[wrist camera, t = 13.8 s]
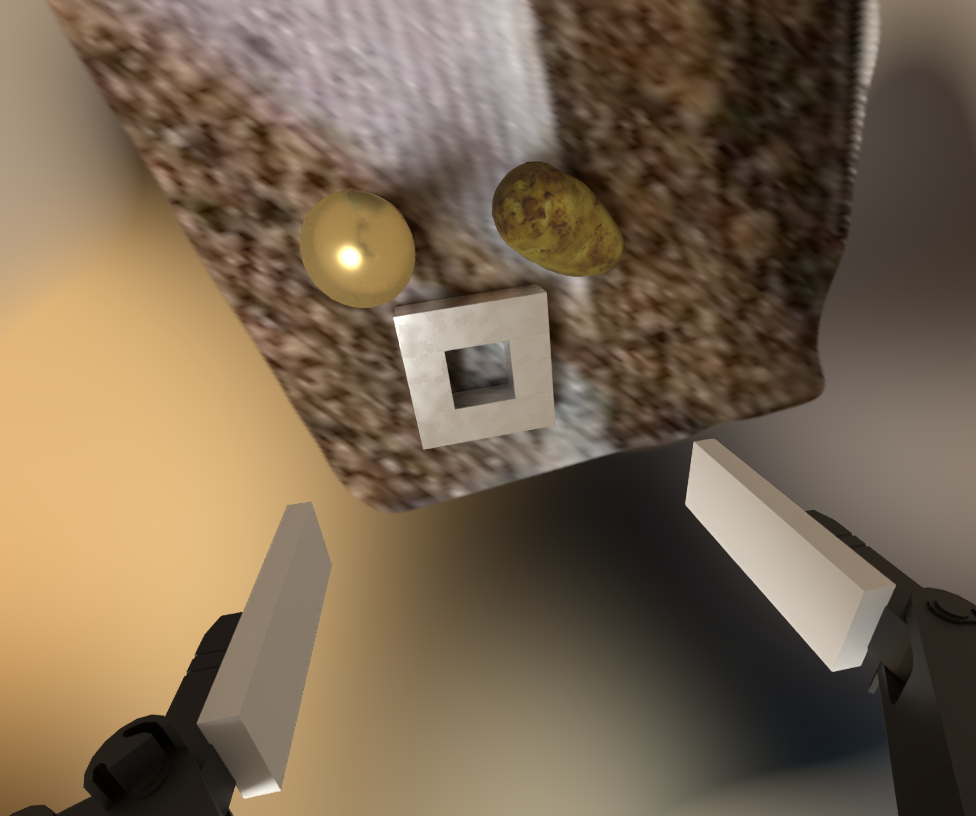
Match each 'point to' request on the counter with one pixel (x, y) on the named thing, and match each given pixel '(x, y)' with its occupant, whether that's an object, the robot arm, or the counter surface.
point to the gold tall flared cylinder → (357, 248)
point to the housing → (476, 323)
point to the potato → (556, 221)
